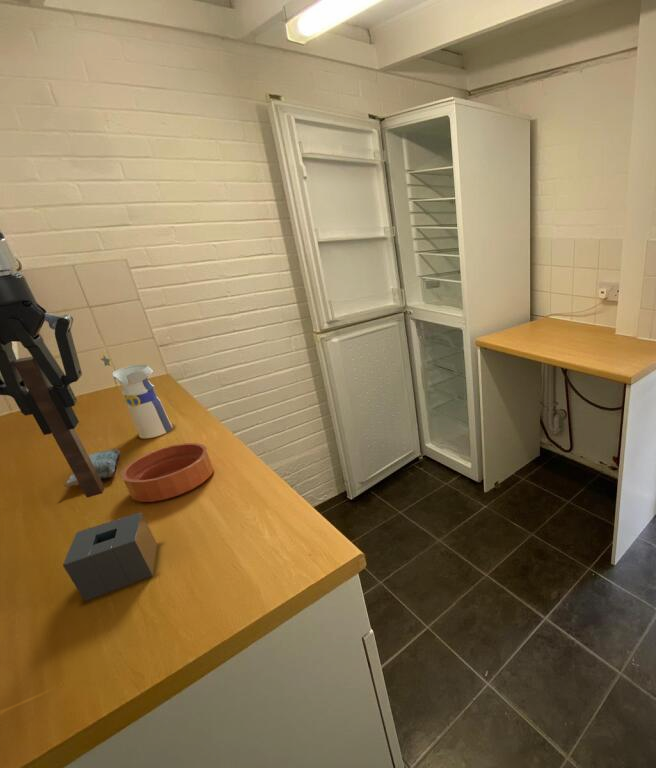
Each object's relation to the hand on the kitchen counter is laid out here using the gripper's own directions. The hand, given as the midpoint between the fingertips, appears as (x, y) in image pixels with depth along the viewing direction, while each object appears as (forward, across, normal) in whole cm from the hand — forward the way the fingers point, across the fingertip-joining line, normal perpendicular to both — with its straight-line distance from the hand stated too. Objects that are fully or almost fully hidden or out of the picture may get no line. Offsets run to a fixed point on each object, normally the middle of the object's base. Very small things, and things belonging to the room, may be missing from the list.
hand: (61, 427), depth 65 cm
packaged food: (+28, -11, +39) cm, 49 cm away
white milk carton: (+28, -1, +58) cm, 64 cm away
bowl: (+27, +5, +24) cm, 37 cm away
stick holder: (+27, -1, -3) cm, 28 cm away
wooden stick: (+12, 0, 0) cm, 12 cm away
